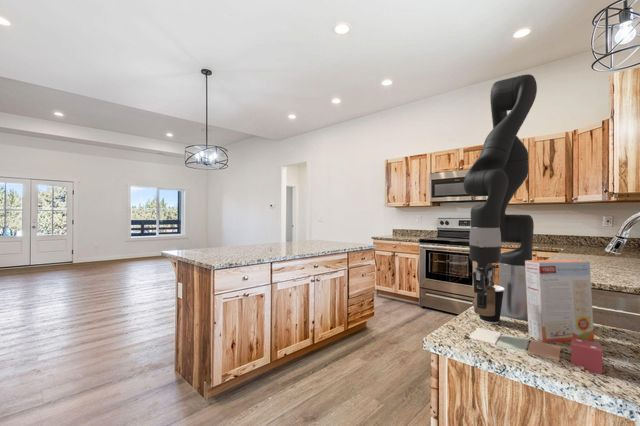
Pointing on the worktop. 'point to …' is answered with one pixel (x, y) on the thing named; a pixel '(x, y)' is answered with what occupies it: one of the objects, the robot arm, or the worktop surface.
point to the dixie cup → (498, 305)
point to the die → (587, 355)
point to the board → (517, 343)
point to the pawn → (490, 302)
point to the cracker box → (559, 300)
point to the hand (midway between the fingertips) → (484, 305)
